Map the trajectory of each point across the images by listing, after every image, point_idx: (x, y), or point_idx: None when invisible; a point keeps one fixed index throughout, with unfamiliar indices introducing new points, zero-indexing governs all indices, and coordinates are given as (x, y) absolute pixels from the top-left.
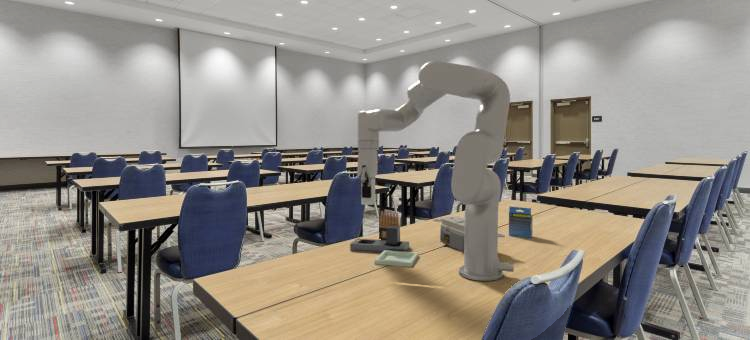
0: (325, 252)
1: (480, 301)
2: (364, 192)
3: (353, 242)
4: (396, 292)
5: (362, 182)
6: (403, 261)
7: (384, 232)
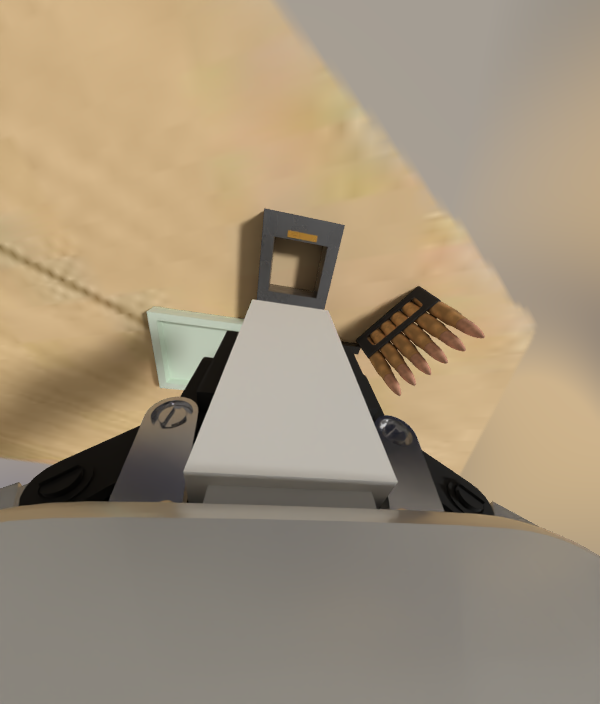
0: (244, 88)
1: (63, 458)
2: (196, 377)
3: (283, 219)
4: (13, 365)
5: (59, 468)
6: (163, 374)
7: (411, 313)
